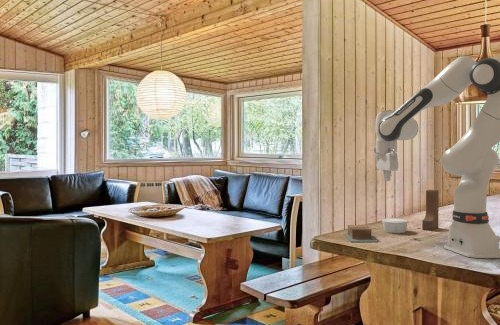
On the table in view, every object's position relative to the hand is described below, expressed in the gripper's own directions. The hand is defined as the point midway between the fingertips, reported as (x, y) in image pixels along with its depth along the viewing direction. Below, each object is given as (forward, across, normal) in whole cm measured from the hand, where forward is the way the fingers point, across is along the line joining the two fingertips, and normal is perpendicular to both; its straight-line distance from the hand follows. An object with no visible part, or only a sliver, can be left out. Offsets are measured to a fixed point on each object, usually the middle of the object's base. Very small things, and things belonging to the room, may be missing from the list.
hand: (387, 180), depth 194 cm
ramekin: (+24, +11, -6) cm, 28 cm away
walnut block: (+22, -5, +13) cm, 26 cm away
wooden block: (+24, +16, -24) cm, 38 cm away
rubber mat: (+24, -2, +13) cm, 27 cm away
